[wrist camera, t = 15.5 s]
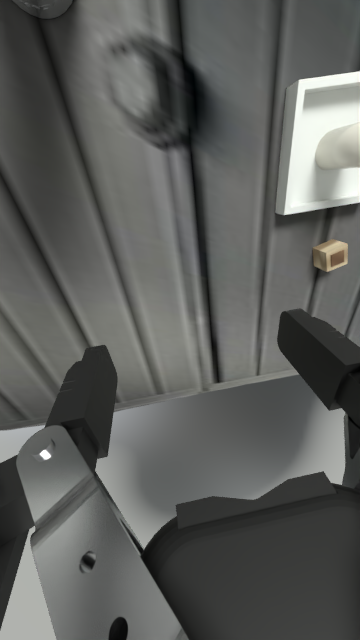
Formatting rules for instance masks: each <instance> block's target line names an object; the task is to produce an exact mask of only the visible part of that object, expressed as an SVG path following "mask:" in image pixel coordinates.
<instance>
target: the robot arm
mask: <svg viewBox="0 0 360 640" xmlns="http://www.w3.org/2000/svg"><path fill="white" fill-rule="evenodd" d="M12 1H13V2H14V3H16V4H17V5H18V6H19V7H20V8H21V9H22V10H24V11H26V12H27V13H29V14H31V15H33V16H36V17H38V18H42V19H52V18H55V17H58V16H60V15H61V14H63V13H64V12H65V11H66V10H67V9H68V8H69V6H70V5H71V4H72V1H73V0H12ZM277 342H278V346H279V349H280V351H281V352H282V353H283V355H284V356H285V357H286V358H287V359H288V361H289V362H290V363H291V364H292V366H293V367H294V368H295V369H296V371H297V372H298V373H299V374H300V375H301V377H302V378H303V379H304V380H305V382H306V383H307V384H308V385H309V386H310V388H311V389H312V390H313V391H314V393H315V394H316V395H317V396H318V397H319V399H320V400H321V401H322V402H323V404H324V405H325V406H326V407H327V409H328V410H335V409H339V408H342V409H343V410H344V411H345V412H346V413H345V416H344V437H345V472H344V476H343V481H342V485H339V484H334V483H330V481H329V479H328V478H327V477H326V475H325V473H324V472H319V473H314V474H310V475H305V476H301V477H297V478H292V479H288V480H286V481H285V482H283V483H282V484H280V485H279V486H277V487H275V488H274V489H272V490H271V491H269V492H268V493H266V494H264V495H263V496H261V497H260V498H258V499H256V500H246V499H236V498H225V497H215V496H212V497H208V498H203V499H199V500H195V501H191V502H186V503H181V504H177V505H176V511H177V516H176V517H175V518H173V519H172V520H170V521H169V522H168V523H166V524H165V525H164V526H163V527H162V528H161V529H160V530H159V531H158V532H157V533H156V534H155V535H154V536H153V538H152V539H151V540H150V542H149V543H148V544H147V546H146V547H145V549H144V548H143V546H142V545H141V543H140V541H139V540H138V538H137V537H136V535H135V533H134V532H133V530H132V529H131V527H130V526H129V524H128V523H127V521H126V520H125V518H124V517H123V515H122V514H121V512H120V510H119V509H118V507H117V506H116V504H115V502H114V501H113V499H112V497H111V496H110V494H109V492H108V491H107V489H106V488H105V486H104V484H103V483H102V481H101V480H100V478H99V477H98V475H97V473H96V472H95V468H96V462H97V459H99V458H103V457H107V456H108V449H109V441H110V434H111V426H112V418H113V412H114V404H115V397H116V389H117V373H116V369H115V367H114V364H113V362H112V359H111V357H110V354H109V352H108V349H107V347H106V346H105V345H101V346H95V347H90V348H86V350H85V353H84V355H83V358H82V361H78V362H75V364H74V365H73V366H72V367H71V368H70V369H69V370H68V372H67V374H66V376H65V379H64V381H63V384H62V386H61V389H60V393H59V394H58V396H57V398H56V401H55V403H54V406H53V408H52V411H51V413H50V416H49V418H48V421H47V423H46V425H45V428H44V429H42V430H40V431H38V432H37V433H35V434H34V435H33V436H31V437H30V439H28V440H27V442H26V443H25V444H24V445H23V446H22V448H21V450H20V451H19V454H18V455H16V456H14V457H12V458H10V459H8V460H6V461H4V462H2V463H0V629H1V626H2V622H3V618H4V615H5V612H6V608H7V605H8V601H9V598H10V594H11V591H12V587H13V584H14V581H15V577H16V573H17V570H18V567H19V563H20V560H21V556H22V552H23V549H24V546H25V542H26V539H27V535H28V532H29V529H30V528H32V527H33V526H35V528H36V530H35V532H34V533H33V534H32V535H31V538H30V544H31V550H32V553H33V557H34V561H35V564H36V568H37V571H38V575H39V579H40V582H41V586H42V589H43V593H44V596H45V600H46V603H47V607H48V611H49V614H50V618H51V621H52V625H53V629H54V632H55V636H56V639H57V640H360V347H359V346H357V345H356V344H355V343H353V342H352V341H351V340H349V339H348V338H347V337H344V335H343V334H341V333H340V332H339V331H336V329H335V328H334V327H332V326H331V325H330V324H328V323H327V322H325V321H322V320H320V319H318V318H315V317H311V316H310V315H309V314H308V313H306V312H305V311H304V310H302V309H294V310H289V311H284V312H282V313H281V316H280V323H279V330H278V338H277Z"/></svg>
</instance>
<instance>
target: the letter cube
mask: <svg viewBox="0 0 360 640" xmlns="http://www.w3.org/2000/svg"><path fill="white" fill-rule="evenodd" d="M347 256H348V244H347V243H343V242H340V241H336V240H333V239H332V240H330V241H327V242H325V243H323V244H320V245H318V246H316V247H314V248H313V260H314V266H315V267H317V268H320V269H322V270H324V271H326V272H328V271H331V270H333V269H335V268H338V267H340V266H343V265H345V264H347Z"/></svg>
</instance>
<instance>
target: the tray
mask: <svg viewBox="0 0 360 640" xmlns="http://www.w3.org/2000/svg"><path fill="white" fill-rule="evenodd" d="M357 122H360V72H352V73H345V74H338V75H331V76H324V77H316V78H309V79H302V80H298V81H297V82H295V83H294V84H292V85H291V86H289V87H288V88H286V98H285V109H284V120H283V131H282V142H281V153H280V164H279V176H278V187H277V198H276V209H275V213H277V214H281V215H288V214H294V213H300V212H306V211H312V210H318V209H324V208H330V207H336V206H342V205H348V204H354V203H359V202H360V168H347V169H333V170H322V169H320V168H319V167H318V165H317V163H316V160H315V154H316V149H317V146H318V144H319V142H320V140H321V139H322V137H323V136H324V135H325V134H326V133H327V132H329V131H331V130H333V129H336V128H340V127H343V126H347V125H350V124H354V123H357Z"/></svg>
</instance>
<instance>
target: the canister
mask: <svg viewBox="0 0 360 640" xmlns="http://www.w3.org/2000/svg"><path fill="white" fill-rule="evenodd" d="M315 160H316V163H317V165H318V167H319V168H320V169H322V170H333V169H347V168H360V122H357V123H354V124H350V125H347V126H343V127H340V128H336V129H333V130H331V131H329V132H327V133H326V134H325V135H324V136H323V137H322V139H321V140H320V142H319V144H318V146H317V149H316V154H315Z"/></svg>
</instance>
